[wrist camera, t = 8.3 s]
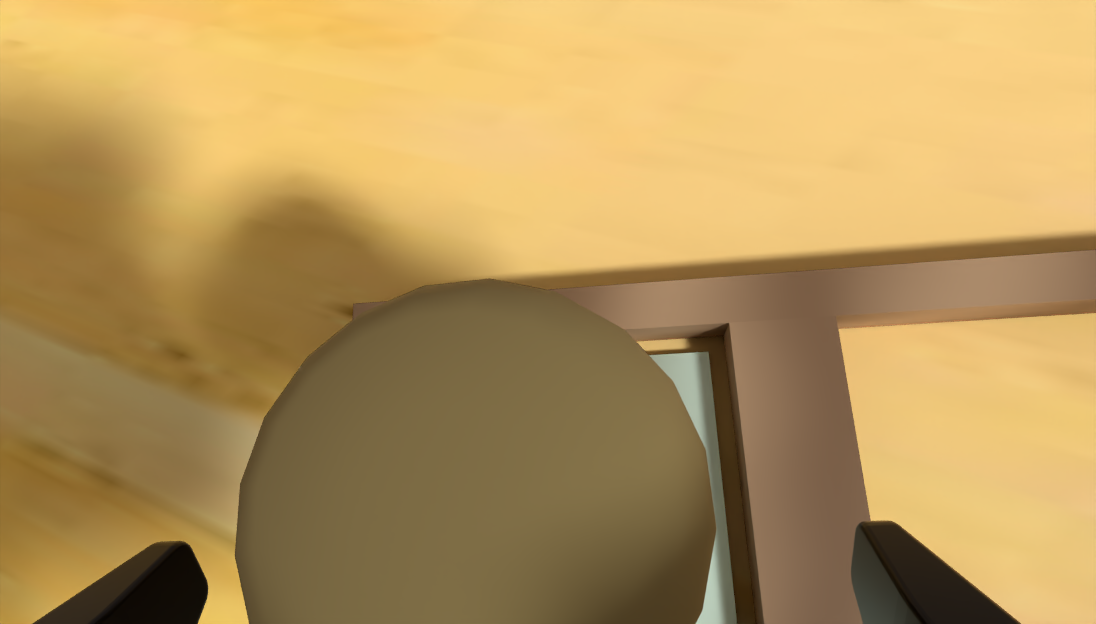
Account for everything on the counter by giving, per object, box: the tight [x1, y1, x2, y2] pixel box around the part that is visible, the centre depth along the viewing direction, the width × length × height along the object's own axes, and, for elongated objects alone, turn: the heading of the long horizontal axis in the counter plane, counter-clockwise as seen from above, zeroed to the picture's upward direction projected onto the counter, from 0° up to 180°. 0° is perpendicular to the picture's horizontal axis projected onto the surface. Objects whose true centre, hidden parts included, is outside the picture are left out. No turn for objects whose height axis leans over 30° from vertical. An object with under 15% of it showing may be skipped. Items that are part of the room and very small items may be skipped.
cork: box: [235, 279, 717, 624], centre depth 11 cm, size 6×6×11 cm
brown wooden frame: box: [353, 250, 1096, 624], centre depth 15 cm, size 22×11×1 cm, turn 91°
